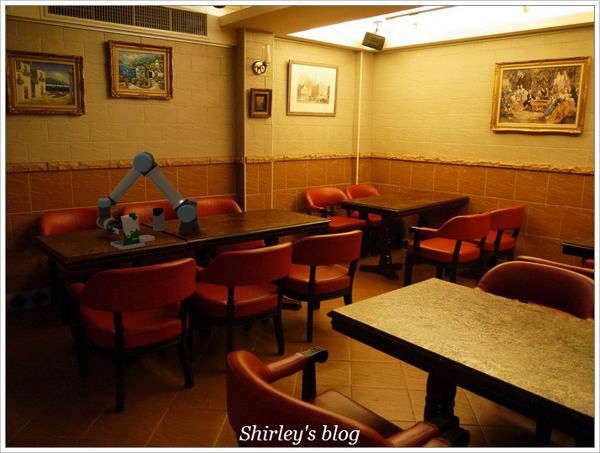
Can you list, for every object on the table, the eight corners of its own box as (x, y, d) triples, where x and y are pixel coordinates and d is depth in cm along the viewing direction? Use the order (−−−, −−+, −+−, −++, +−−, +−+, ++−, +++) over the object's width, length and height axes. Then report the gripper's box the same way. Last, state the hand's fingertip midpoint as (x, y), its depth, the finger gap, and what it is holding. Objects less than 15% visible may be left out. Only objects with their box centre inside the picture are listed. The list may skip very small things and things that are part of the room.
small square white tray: (147, 237, 337) (147, 234, 336) (154, 240, 331) (154, 236, 330) (135, 239, 330) (134, 236, 330) (142, 242, 324) (141, 239, 324)
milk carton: (131, 247, 309) (129, 214, 305) (120, 245, 313) (118, 213, 309) (142, 244, 317) (140, 212, 313) (131, 242, 321) (129, 211, 317)
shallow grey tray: (132, 241, 325) (132, 238, 324) (144, 245, 315) (144, 242, 315) (110, 245, 315) (110, 242, 314) (122, 249, 305) (122, 246, 304)
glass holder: (161, 230, 358) (161, 209, 355) (143, 229, 361) (142, 208, 358) (167, 228, 367) (166, 207, 364) (149, 227, 369) (148, 206, 366)
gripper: (130, 228, 335) (147, 233, 321) (93, 233, 318) (109, 239, 303) (130, 216, 334) (147, 221, 319) (92, 221, 316) (108, 226, 302)
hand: (128, 230), depth 311 cm, fingers open, 13 cm apart
